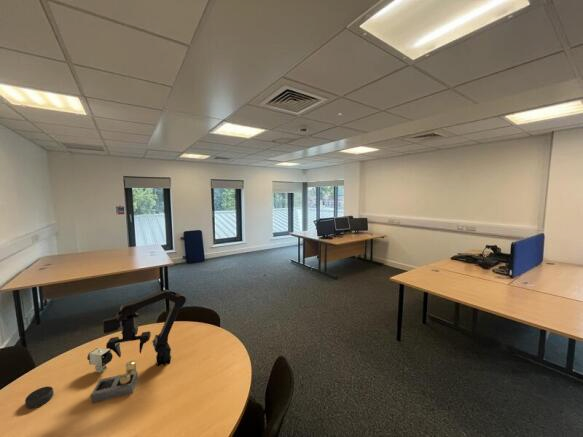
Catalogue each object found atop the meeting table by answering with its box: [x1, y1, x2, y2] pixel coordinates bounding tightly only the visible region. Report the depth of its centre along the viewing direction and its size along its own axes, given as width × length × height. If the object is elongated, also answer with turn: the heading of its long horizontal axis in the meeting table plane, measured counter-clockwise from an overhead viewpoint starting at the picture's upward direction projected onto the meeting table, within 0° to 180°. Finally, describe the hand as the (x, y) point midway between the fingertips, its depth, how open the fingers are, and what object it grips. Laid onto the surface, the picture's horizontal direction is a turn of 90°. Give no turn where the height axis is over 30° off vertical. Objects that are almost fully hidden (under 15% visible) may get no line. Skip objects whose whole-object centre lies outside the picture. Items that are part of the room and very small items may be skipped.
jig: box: [90, 371, 139, 404], centre depth 116 cm, size 16×10×4 cm, turn 110°
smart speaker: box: [24, 386, 54, 409], centre depth 110 cm, size 9×9×4 cm
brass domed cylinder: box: [125, 360, 137, 374], centre depth 127 cm, size 4×4×6 cm
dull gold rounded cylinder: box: [120, 373, 131, 385], centre depth 118 cm, size 4×4×6 cm
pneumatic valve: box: [86, 347, 113, 374], centre depth 130 cm, size 6×12×12 cm, turn 78°
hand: (130, 354), depth 126 cm, fingers open, 9 cm apart
